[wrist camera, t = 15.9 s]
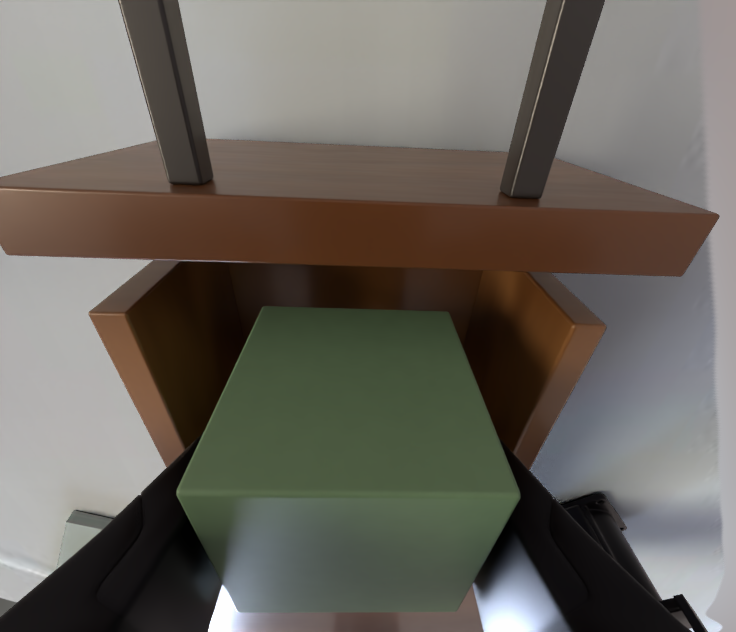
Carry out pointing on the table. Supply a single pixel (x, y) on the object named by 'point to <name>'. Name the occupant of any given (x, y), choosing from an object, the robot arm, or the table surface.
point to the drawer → (347, 237)
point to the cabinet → (347, 620)
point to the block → (349, 466)
